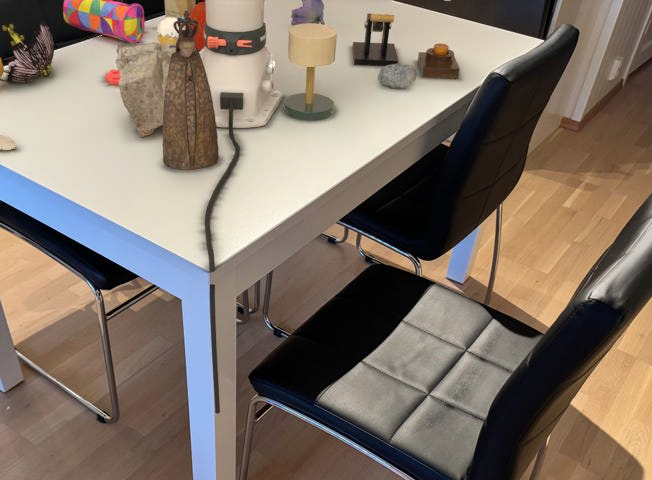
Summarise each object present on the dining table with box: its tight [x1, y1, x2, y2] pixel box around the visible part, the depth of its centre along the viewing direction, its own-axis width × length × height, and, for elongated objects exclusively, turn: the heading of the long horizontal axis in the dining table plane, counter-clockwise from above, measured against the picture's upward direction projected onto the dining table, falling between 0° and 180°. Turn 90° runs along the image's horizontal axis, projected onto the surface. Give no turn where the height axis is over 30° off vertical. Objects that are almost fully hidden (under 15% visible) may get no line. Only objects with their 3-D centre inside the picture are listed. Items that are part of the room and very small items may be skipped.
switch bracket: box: [352, 13, 399, 67], centre depth 158 cm, size 12×10×9 cm
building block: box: [105, 69, 120, 87], centre depth 146 cm, size 1×8×8 cm
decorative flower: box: [0, 20, 55, 85], centre depth 141 cm, size 14×12×15 cm
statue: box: [162, 11, 220, 170], centre depth 110 cm, size 9×8×25 cm
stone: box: [114, 41, 176, 138], centre depth 126 cm, size 13×17×15 cm
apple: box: [189, 1, 206, 52], centre depth 157 cm, size 11×11×11 cm
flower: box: [290, 0, 326, 26], centre depth 172 cm, size 9×9×10 cm
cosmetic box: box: [164, 0, 197, 27], centre depth 161 cm, size 6×4×12 cm
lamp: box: [283, 23, 338, 121], centre depth 132 cm, size 10×10×15 cm
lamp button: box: [433, 42, 450, 55], centre depth 153 cm, size 3×3×2 cm
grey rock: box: [377, 62, 418, 89], centre depth 146 cm, size 8×4×5 cm, turn 89°
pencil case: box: [62, 0, 146, 44], centre depth 164 cm, size 22×9×9 cm
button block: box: [417, 47, 461, 80], centre depth 154 cm, size 10×8×4 cm
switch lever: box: [370, 13, 395, 33], centre depth 152 cm, size 11×5×2 cm, turn 177°
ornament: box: [156, 16, 186, 46], centre depth 158 cm, size 7×7×8 cm
